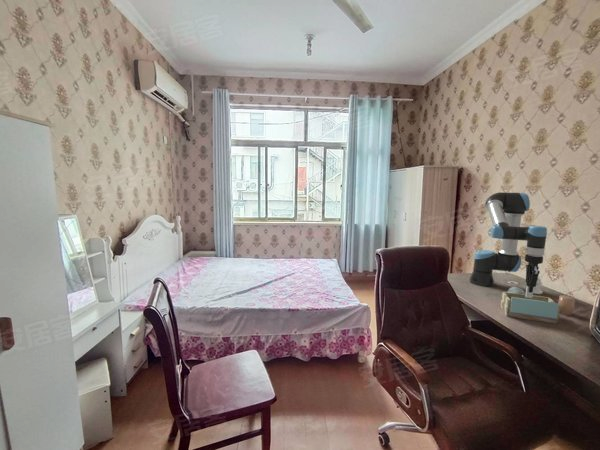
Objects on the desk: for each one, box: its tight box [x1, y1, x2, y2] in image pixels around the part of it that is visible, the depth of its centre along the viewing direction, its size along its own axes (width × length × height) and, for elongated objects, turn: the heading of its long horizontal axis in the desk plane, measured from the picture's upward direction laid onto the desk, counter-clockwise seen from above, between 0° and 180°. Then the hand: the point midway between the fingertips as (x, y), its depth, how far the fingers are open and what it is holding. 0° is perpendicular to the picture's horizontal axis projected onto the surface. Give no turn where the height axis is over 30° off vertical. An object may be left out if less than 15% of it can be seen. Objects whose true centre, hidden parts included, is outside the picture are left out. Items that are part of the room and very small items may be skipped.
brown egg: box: [557, 294, 576, 317], centre depth 162 cm, size 6×6×9 cm
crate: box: [499, 291, 560, 325], centre depth 160 cm, size 14×22×9 cm, turn 67°
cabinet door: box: [510, 297, 559, 320], centre depth 152 cm, size 1×20×9 cm, turn 67°
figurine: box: [533, 274, 544, 295], centre depth 195 cm, size 12×9×10 cm
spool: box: [507, 286, 526, 294], centre depth 178 cm, size 14×10×10 cm
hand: (528, 297), depth 160 cm, fingers closed
